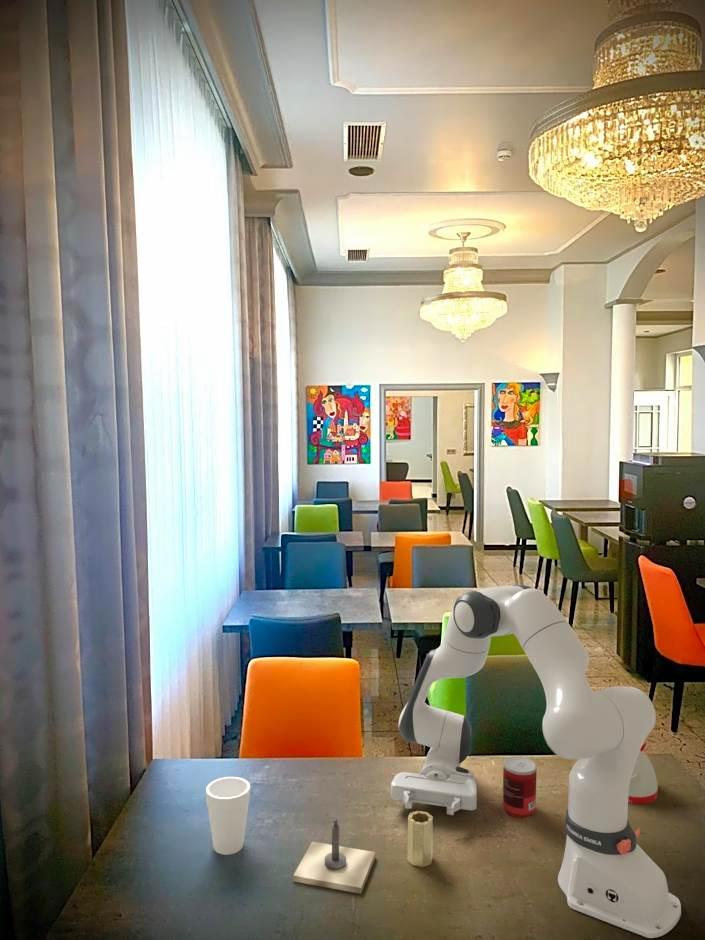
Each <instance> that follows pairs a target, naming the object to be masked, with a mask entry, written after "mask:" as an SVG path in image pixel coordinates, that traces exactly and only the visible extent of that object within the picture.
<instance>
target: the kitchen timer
mask: <svg viewBox="0 0 705 940" xmlns="http://www.w3.org/2000/svg"><path fill="white" fill-rule="evenodd" d="M646 745H647V742H645V741H644V742H643V744H642V746H641V749H640V751H639V754H638V757H637V760H636V763H635V766H634V769H633V772H632V776H631V780H630V785H629V796H628V802H629V803H630V804H641V803H642V804H648V803H651V802H654V801H655V800H656V799H657V798H658V793H659V791H658V790H659V786H658V785H659V784H658V779H657V776H656V772H655V769H654V766H653V764H652V762H651V760H650V758H649V757H648V755H647V754H646V752H645V751H644V749H645V748H646ZM629 803H628V804H629Z"/></svg>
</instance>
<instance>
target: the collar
mask: <svg viewBox="0 0 705 940" xmlns="http://www.w3.org/2000/svg"><path fill="white" fill-rule="evenodd" d="M433 831H434V816H432V815H431V814H430V813H429V812H427V811H422V810H416V811H412V812H409V814H408V816H407V846H406V847H407V848H406V849H407V851H406V852H407V853H406V854H407V857H406V860H407V862H408V863H410V865H412V866H414V867H420V868H424V867H427V866H430V865H432V862H433V854H434V853H433V851H434V850H433V845H434V844H433V843H434V840H433V839H434V835H433V833H434V832H433Z"/></svg>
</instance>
